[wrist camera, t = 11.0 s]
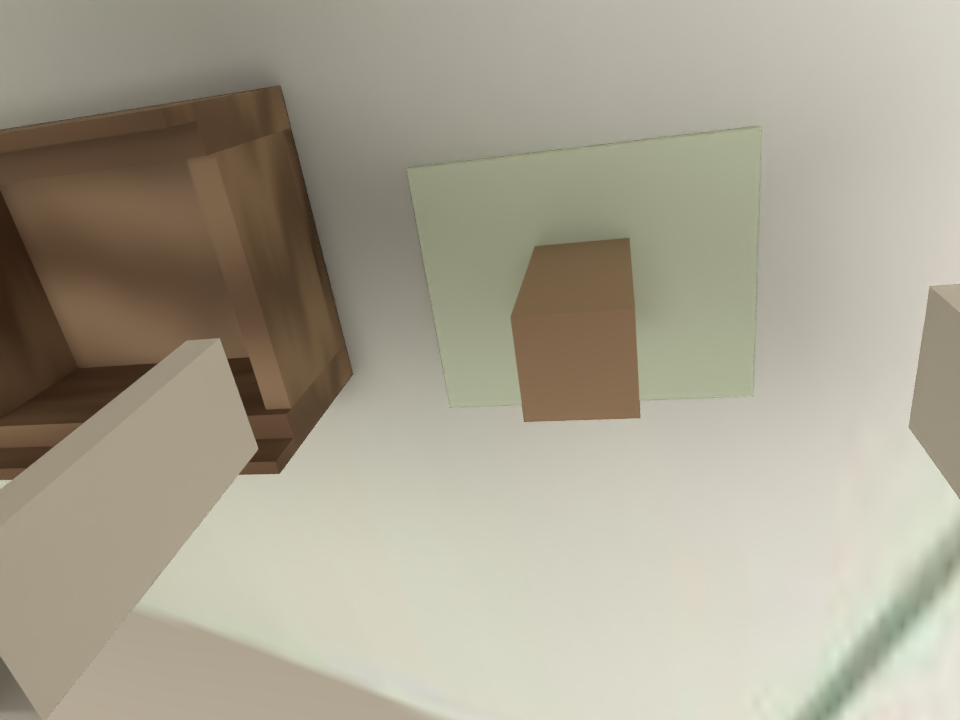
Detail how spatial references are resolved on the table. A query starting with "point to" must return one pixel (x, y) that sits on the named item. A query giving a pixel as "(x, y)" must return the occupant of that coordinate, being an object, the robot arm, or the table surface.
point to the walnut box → (161, 268)
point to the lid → (594, 273)
